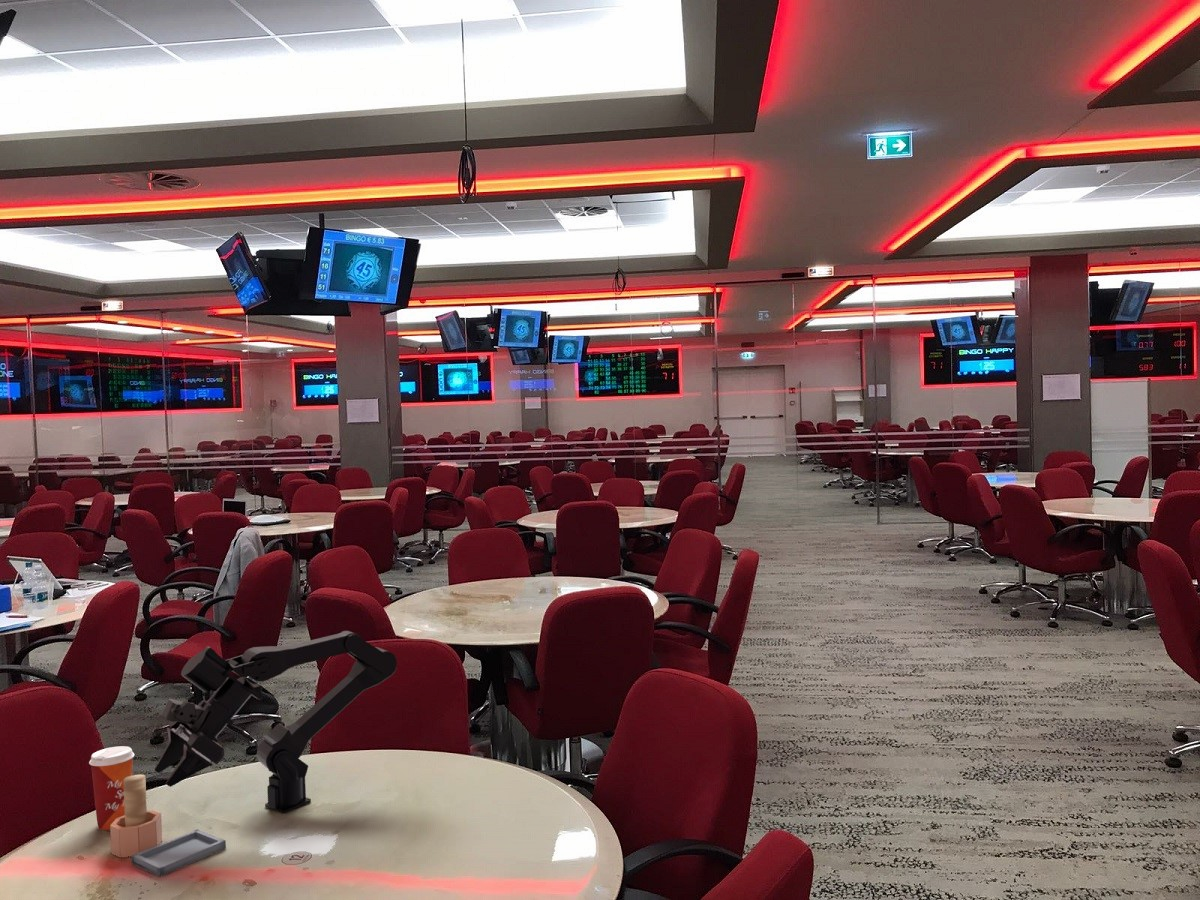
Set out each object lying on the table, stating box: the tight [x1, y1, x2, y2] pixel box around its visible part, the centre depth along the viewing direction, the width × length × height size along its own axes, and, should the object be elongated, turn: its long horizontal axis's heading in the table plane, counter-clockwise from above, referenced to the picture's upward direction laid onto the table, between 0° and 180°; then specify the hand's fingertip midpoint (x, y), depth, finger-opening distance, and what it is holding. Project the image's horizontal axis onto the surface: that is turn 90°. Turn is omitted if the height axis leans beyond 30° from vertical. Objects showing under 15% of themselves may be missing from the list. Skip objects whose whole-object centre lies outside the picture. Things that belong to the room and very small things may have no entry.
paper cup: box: [88, 745, 135, 831], centre depth 169 cm, size 8×8×14 cm
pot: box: [109, 809, 163, 858], centre depth 158 cm, size 8×8×5 cm
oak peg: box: [123, 774, 148, 827], centre depth 158 cm, size 4×4×12 cm
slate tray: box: [131, 829, 227, 878], centre depth 154 cm, size 12×9×2 cm
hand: (162, 778), depth 161 cm, fingers open, 9 cm apart
